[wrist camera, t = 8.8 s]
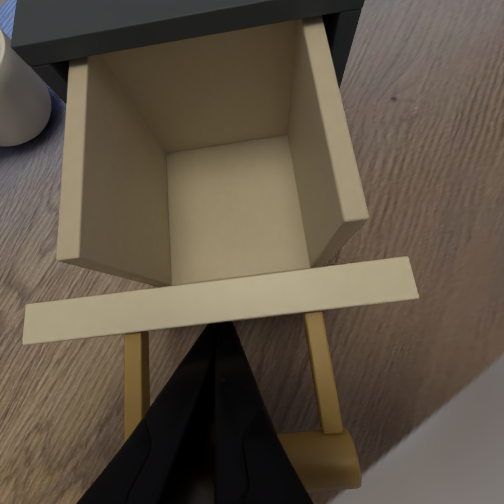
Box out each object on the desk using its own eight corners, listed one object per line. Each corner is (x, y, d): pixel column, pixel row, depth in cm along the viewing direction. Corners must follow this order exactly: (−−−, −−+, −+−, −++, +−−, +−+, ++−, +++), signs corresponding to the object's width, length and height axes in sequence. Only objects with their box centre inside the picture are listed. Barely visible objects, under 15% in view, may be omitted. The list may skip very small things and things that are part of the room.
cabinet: (317, 166, 20) (370, -19, 9) (150, 190, 20) (9, 47, 9) (290, 25, 23) (304, -235, 12) (147, 50, 24) (39, -175, 13)
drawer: (356, 397, 15) (478, 517, 6) (159, 417, 16) (2, 553, 7) (306, 132, 19) (333, -30, 10) (152, 156, 20) (50, 22, 11)
